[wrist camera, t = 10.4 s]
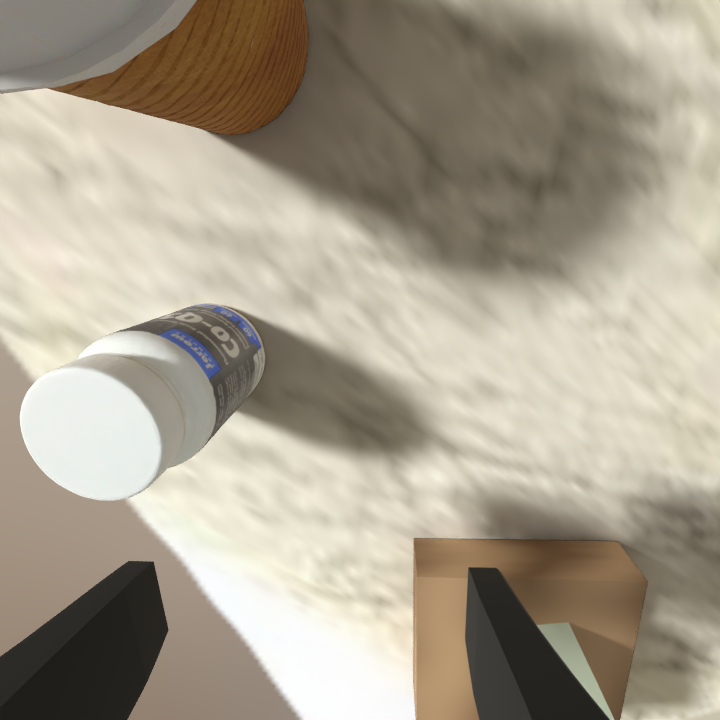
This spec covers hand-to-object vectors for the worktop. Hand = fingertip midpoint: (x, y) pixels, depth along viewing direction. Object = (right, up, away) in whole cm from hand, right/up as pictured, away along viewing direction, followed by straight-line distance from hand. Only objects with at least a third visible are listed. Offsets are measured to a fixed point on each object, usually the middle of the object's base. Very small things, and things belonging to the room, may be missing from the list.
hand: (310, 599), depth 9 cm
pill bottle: (-5, +6, +10) cm, 13 cm away
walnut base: (+9, -8, +13) cm, 18 cm away
